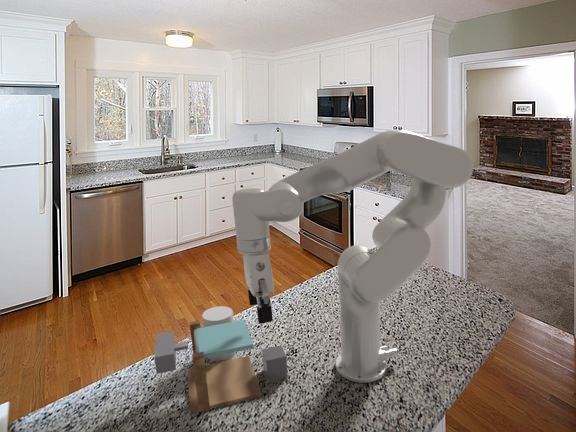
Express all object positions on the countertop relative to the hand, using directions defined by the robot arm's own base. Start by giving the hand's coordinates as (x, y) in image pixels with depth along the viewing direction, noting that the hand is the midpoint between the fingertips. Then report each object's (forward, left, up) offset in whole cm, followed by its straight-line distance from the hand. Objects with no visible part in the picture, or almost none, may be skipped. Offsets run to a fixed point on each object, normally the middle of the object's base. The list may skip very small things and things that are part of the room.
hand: (260, 312), depth 89 cm
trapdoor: (+14, -2, -8) cm, 16 cm away
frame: (+10, -2, -18) cm, 20 cm away
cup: (+9, -15, -18) cm, 25 cm away
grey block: (-3, -1, -18) cm, 18 cm away
